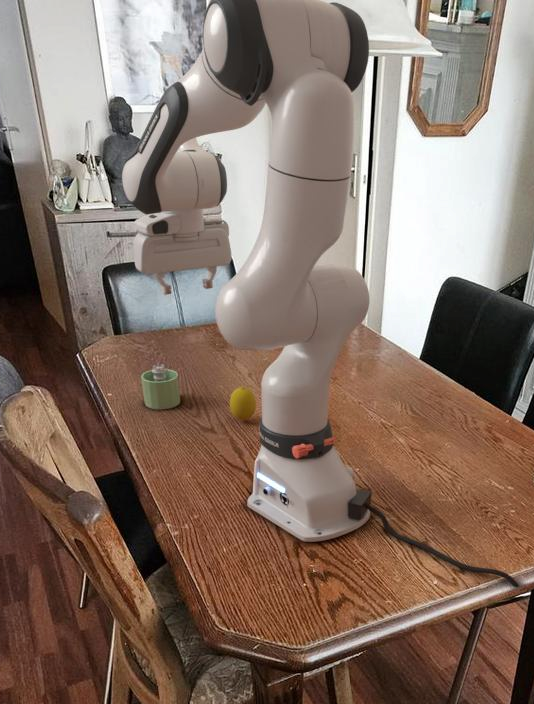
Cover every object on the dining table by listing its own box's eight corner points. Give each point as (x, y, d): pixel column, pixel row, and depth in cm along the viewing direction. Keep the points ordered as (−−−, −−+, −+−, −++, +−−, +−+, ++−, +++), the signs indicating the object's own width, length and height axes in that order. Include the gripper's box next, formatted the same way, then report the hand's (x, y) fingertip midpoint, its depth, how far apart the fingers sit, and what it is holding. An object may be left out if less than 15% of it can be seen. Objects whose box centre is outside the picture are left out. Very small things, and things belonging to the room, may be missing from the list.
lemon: (235, 414, 139) (233, 380, 135) (259, 417, 139) (258, 383, 134) (227, 424, 135) (225, 390, 131) (251, 428, 134) (250, 393, 130)
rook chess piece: (161, 405, 140) (157, 371, 136) (148, 399, 143) (144, 366, 138) (176, 399, 144) (173, 366, 139) (163, 393, 146) (160, 361, 142)
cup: (186, 404, 143) (183, 377, 139) (152, 412, 139) (149, 385, 135) (172, 392, 148) (169, 366, 145) (139, 399, 144) (135, 373, 141)
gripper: (220, 214, 133) (224, 281, 140) (126, 221, 122) (135, 293, 130) (235, 219, 129) (238, 288, 136) (138, 227, 118) (147, 300, 125)
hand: (187, 290), depth 133 cm, fingers open, 8 cm apart
